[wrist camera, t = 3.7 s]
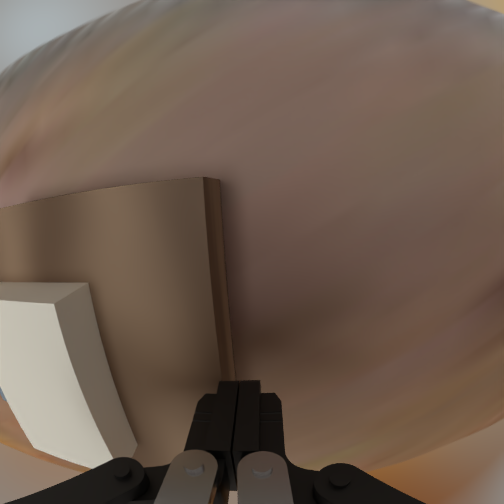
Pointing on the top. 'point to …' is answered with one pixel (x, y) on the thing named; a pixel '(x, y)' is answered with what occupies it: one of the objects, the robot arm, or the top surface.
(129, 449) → the cream thick tile
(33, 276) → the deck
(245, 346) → the top surface
